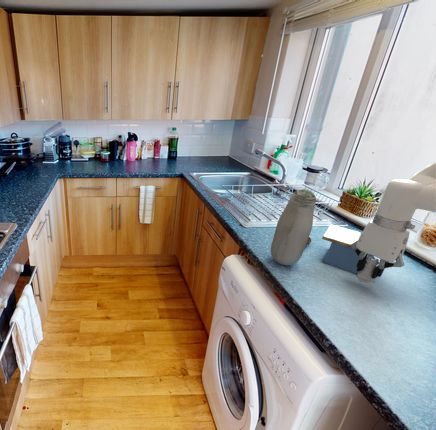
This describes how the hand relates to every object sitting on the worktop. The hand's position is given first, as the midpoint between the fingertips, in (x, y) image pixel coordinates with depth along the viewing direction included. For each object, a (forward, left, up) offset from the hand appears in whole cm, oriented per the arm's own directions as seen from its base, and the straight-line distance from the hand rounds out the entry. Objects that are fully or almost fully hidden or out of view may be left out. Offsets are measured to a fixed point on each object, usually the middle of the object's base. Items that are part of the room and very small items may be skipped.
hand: (367, 273), depth 91 cm
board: (+10, -12, +3) cm, 16 cm away
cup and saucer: (+29, -9, -6) cm, 31 cm away
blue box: (+10, -12, -6) cm, 16 cm away
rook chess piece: (0, 0, -3) cm, 3 cm away
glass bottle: (+20, +10, -6) cm, 24 cm away
